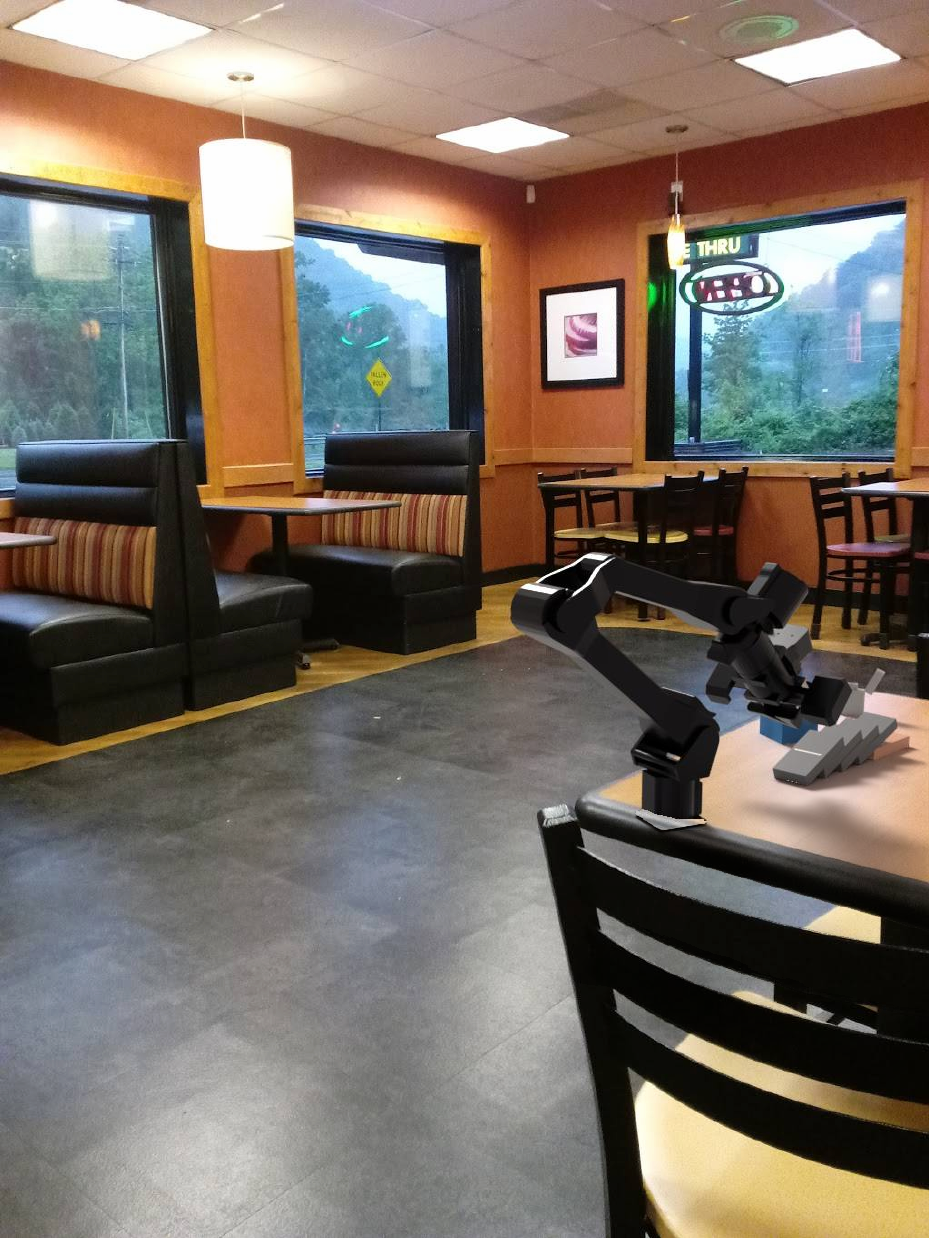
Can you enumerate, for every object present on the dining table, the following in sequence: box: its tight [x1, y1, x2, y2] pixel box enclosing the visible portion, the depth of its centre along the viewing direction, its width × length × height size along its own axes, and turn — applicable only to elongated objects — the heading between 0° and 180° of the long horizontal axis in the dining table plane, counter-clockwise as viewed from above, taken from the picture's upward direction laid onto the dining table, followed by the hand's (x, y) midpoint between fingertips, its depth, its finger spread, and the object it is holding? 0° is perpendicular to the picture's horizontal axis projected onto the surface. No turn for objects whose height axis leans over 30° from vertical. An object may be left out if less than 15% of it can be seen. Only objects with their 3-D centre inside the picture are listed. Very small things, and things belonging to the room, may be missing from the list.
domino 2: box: [816, 723, 863, 779], centre depth 148 cm, size 2×5×10 cm
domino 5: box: [867, 731, 911, 761], centre depth 157 cm, size 2×5×10 cm
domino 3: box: [833, 717, 879, 773], centre depth 151 cm, size 2×5×10 cm
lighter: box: [841, 668, 886, 717], centre depth 175 cm, size 7×2×8 cm, turn 63°
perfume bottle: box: [759, 660, 819, 745], centre depth 163 cm, size 6×6×12 cm
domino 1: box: [772, 730, 845, 787], centre depth 145 cm, size 2×5×10 cm
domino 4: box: [851, 711, 898, 766], centre depth 154 cm, size 2×5×10 cm
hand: (798, 725), depth 142 cm, fingers closed
